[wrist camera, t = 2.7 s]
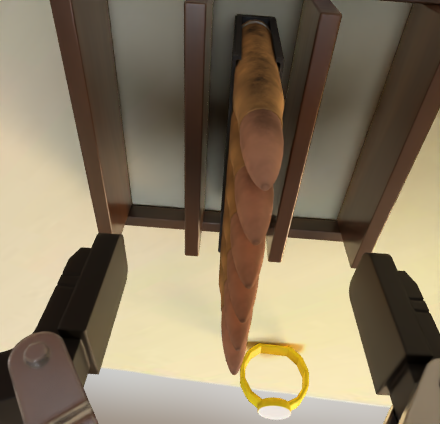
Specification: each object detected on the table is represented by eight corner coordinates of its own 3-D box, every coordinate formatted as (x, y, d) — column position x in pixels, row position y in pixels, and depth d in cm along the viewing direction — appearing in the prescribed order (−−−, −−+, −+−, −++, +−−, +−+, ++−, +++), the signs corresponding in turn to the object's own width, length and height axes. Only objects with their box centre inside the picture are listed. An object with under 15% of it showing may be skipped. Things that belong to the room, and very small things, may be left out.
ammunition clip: (250, 200, 24) (255, 387, 15) (221, 198, 24) (208, 384, 15) (276, 16, 17) (315, 155, 8) (235, 13, 17) (227, 148, 8)
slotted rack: (441, -22, 16) (492, -2, 12) (345, 229, 25) (360, 278, 22) (82, -50, 16) (41, -37, 12) (121, 212, 25) (103, 258, 22)
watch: (306, 340, 34) (316, 408, 30) (301, 356, 36) (310, 422, 31) (241, 337, 34) (241, 404, 30) (239, 353, 36) (239, 418, 31)
